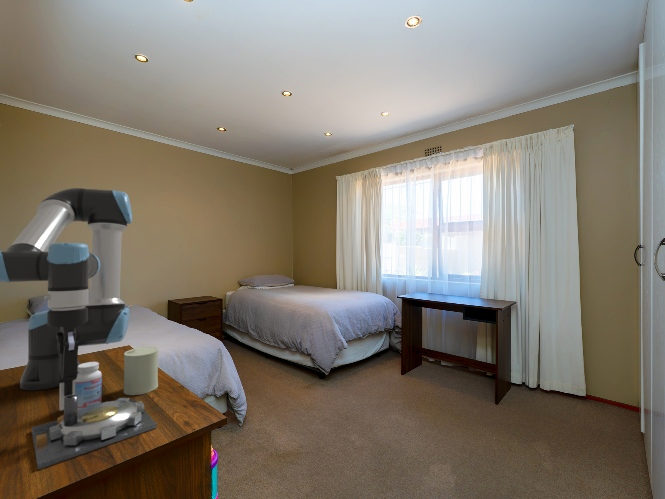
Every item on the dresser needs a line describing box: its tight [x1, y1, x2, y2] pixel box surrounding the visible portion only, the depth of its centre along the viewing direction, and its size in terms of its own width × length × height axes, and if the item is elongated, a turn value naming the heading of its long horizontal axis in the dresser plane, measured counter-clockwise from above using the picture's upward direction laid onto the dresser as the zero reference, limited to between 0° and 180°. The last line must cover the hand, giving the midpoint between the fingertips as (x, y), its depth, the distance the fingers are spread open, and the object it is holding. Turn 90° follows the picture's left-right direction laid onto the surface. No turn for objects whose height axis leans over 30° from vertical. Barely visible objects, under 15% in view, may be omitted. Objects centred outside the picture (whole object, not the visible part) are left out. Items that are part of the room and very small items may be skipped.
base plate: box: [31, 398, 158, 471], centre depth 76 cm, size 19×21×2 cm
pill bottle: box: [75, 361, 103, 410], centre depth 88 cm, size 6×6×11 cm
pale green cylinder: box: [123, 346, 159, 396], centre depth 99 cm, size 9×9×12 cm
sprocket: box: [50, 395, 145, 445], centre depth 77 cm, size 18×18×8 cm
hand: (67, 407), depth 76 cm, fingers closed
